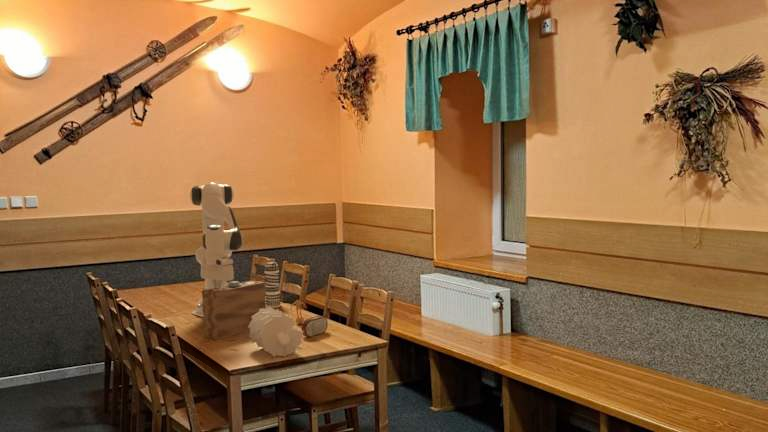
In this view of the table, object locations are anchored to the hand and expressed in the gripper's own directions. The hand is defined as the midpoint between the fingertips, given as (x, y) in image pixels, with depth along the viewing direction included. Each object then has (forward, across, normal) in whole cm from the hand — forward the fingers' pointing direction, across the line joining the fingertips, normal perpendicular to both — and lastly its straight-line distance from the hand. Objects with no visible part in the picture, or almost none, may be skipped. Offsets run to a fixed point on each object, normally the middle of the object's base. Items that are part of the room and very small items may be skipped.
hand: (217, 289), depth 322 cm
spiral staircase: (+22, +44, -6) cm, 50 cm away
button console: (+22, 0, +10) cm, 25 cm away
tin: (+22, +39, +24) cm, 51 cm away
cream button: (+3, 0, +20) cm, 20 cm away
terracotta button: (+3, 0, 0) cm, 3 cm away
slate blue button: (+1, 0, +10) cm, 10 cm away
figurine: (+22, +16, +37) cm, 46 cm away
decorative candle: (+23, -28, +61) cm, 71 cm away
